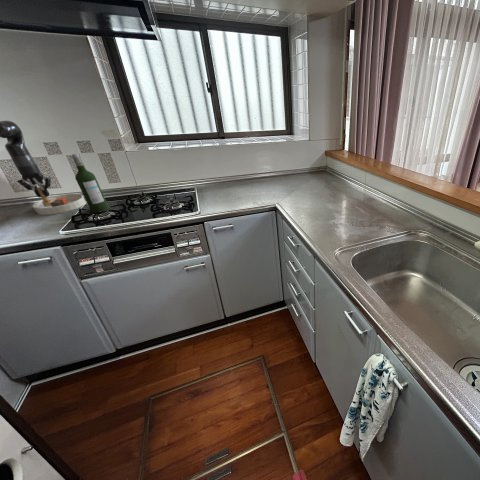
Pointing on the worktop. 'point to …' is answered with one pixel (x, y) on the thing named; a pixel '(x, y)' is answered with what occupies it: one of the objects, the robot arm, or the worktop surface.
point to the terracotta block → (62, 200)
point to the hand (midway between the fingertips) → (44, 196)
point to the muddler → (44, 198)
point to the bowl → (73, 203)
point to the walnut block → (56, 203)
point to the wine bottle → (89, 187)
